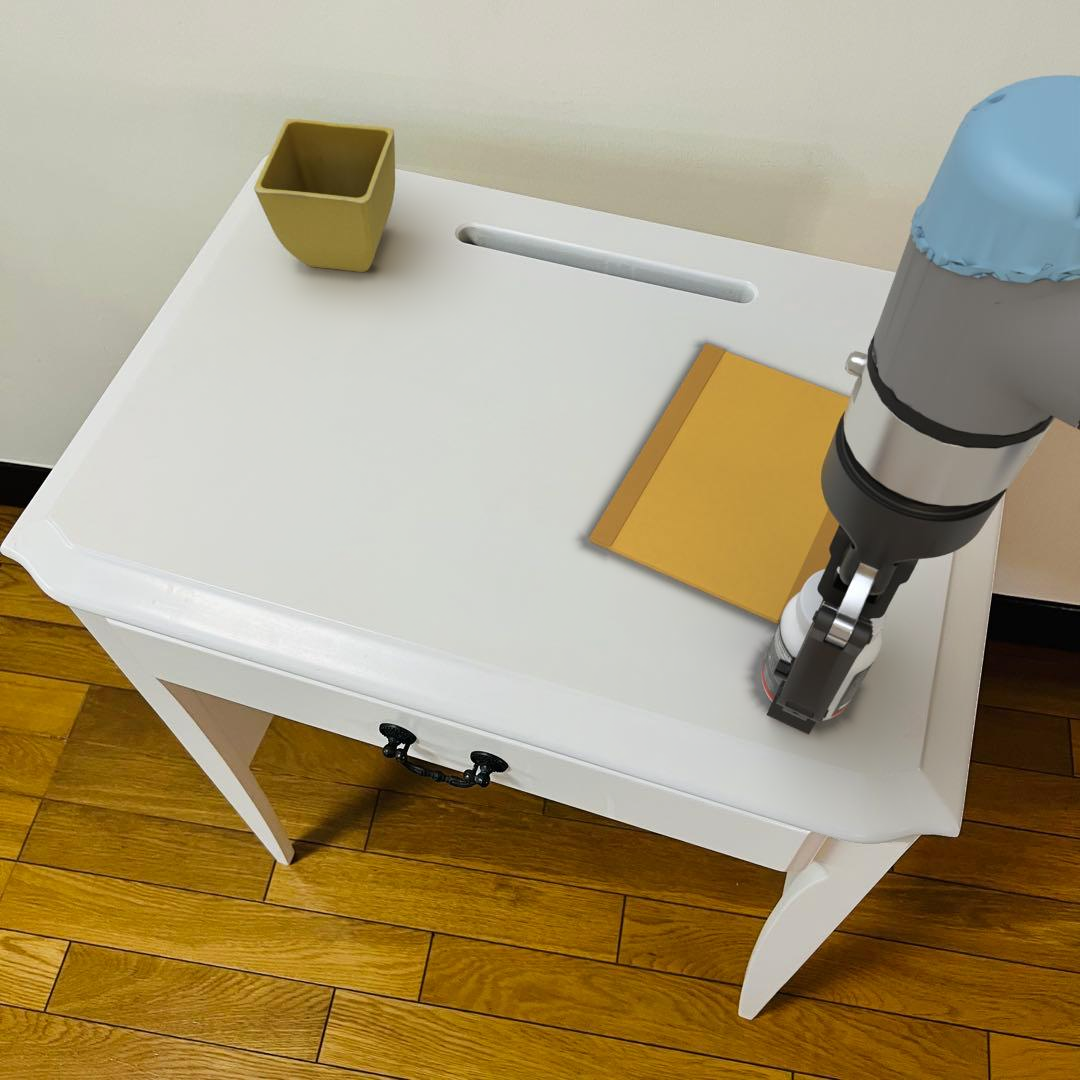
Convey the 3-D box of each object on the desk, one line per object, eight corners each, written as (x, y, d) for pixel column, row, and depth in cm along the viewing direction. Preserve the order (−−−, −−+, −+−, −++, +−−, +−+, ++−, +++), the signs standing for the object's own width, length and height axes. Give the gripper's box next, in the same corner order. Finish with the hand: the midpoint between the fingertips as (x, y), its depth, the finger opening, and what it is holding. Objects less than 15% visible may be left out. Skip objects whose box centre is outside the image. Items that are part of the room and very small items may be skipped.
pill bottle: (826, 630, 67) (867, 547, 58) (868, 708, 64) (918, 632, 56) (744, 656, 66) (774, 574, 57) (783, 736, 63) (821, 663, 54)
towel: (894, 419, 76) (897, 414, 76) (799, 634, 67) (801, 629, 66) (705, 348, 80) (706, 342, 80) (589, 541, 70) (589, 536, 70)
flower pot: (276, 281, 84) (250, 188, 76) (306, 209, 88) (285, 115, 81) (383, 293, 83) (368, 201, 76) (408, 220, 88) (395, 127, 80)
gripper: (907, 277, 50) (803, 539, 70) (765, 571, 41) (691, 778, 61) (1065, 331, 48) (912, 585, 68) (952, 652, 39) (814, 838, 59)
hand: (808, 676), depth 64 cm, fingers closed on pill bottle, 6 cm apart
